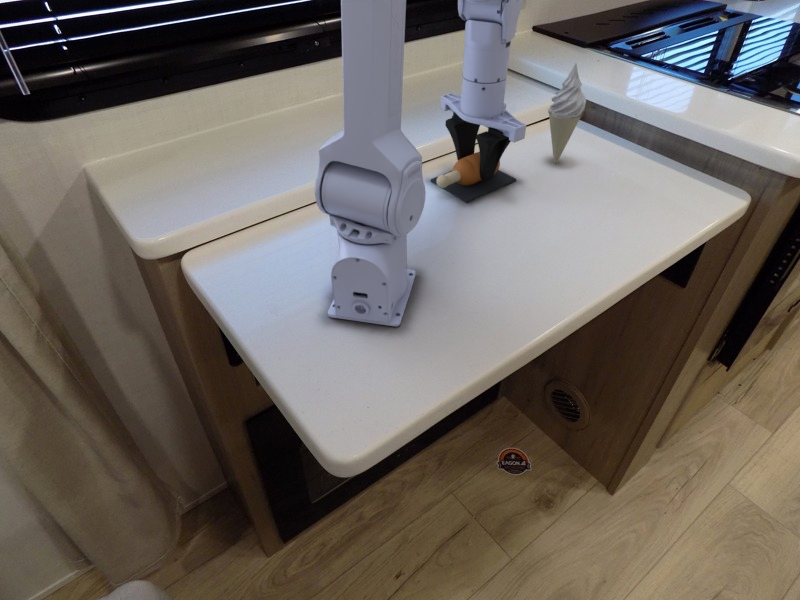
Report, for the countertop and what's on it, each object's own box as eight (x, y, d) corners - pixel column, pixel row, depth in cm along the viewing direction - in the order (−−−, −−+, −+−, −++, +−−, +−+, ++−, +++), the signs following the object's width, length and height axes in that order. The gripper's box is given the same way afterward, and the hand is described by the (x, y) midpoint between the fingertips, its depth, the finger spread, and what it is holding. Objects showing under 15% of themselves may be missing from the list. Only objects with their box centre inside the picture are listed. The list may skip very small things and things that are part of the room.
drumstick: (446, 201, 74) (448, 175, 71) (428, 190, 76) (429, 164, 74) (503, 176, 79) (507, 152, 77) (485, 166, 82) (487, 142, 79)
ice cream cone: (575, 170, 81) (598, 68, 71) (542, 170, 81) (560, 68, 72) (568, 155, 85) (589, 57, 75) (536, 155, 85) (553, 57, 75)
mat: (466, 203, 74) (467, 200, 74) (430, 181, 79) (430, 179, 79) (516, 181, 79) (516, 178, 79) (478, 162, 84) (479, 159, 84)
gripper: (548, 84, 66) (532, 181, 75) (468, 56, 75) (462, 146, 84) (508, 97, 63) (496, 197, 72) (430, 66, 72) (428, 159, 81)
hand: (476, 171), depth 78 cm, fingers closed on drumstick, 4 cm apart
